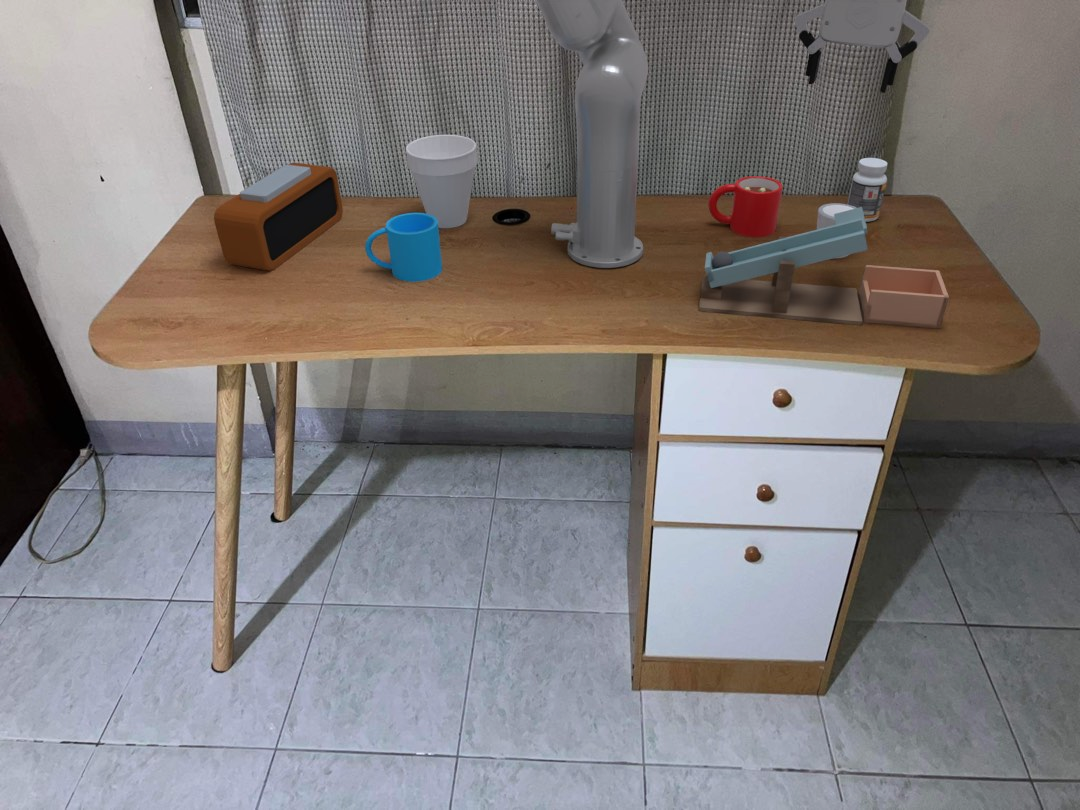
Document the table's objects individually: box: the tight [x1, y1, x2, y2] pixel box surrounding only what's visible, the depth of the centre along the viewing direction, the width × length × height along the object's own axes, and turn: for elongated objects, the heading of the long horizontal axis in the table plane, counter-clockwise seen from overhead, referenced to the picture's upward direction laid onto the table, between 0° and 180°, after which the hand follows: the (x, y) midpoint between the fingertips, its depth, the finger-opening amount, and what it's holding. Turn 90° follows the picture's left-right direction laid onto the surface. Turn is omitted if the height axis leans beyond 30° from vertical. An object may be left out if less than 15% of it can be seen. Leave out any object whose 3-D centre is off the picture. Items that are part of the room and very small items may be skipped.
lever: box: [704, 207, 869, 288], centre depth 122 cm, size 22×13×4 cm, turn 78°
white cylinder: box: [815, 202, 856, 259], centre depth 136 cm, size 7×7×7 cm
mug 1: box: [364, 212, 443, 283], centre depth 133 cm, size 12×8×8 cm
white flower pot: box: [405, 134, 479, 229], centre depth 147 cm, size 12×12×14 cm
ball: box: [712, 251, 733, 269], centre depth 123 cm, size 3×3×3 cm
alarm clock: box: [213, 162, 344, 272], centre depth 142 cm, size 24×8×11 cm, turn 160°
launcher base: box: [698, 235, 863, 326], centre depth 122 cm, size 23×10×8 cm, turn 78°
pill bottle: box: [847, 157, 888, 223], centre depth 146 cm, size 6×6×10 cm
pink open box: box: [858, 264, 950, 330], centre depth 120 cm, size 10×8×5 cm
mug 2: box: [708, 175, 783, 238], centre depth 144 cm, size 8×12×8 cm, turn 82°
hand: (847, 86), depth 116 cm, fingers open, 9 cm apart
